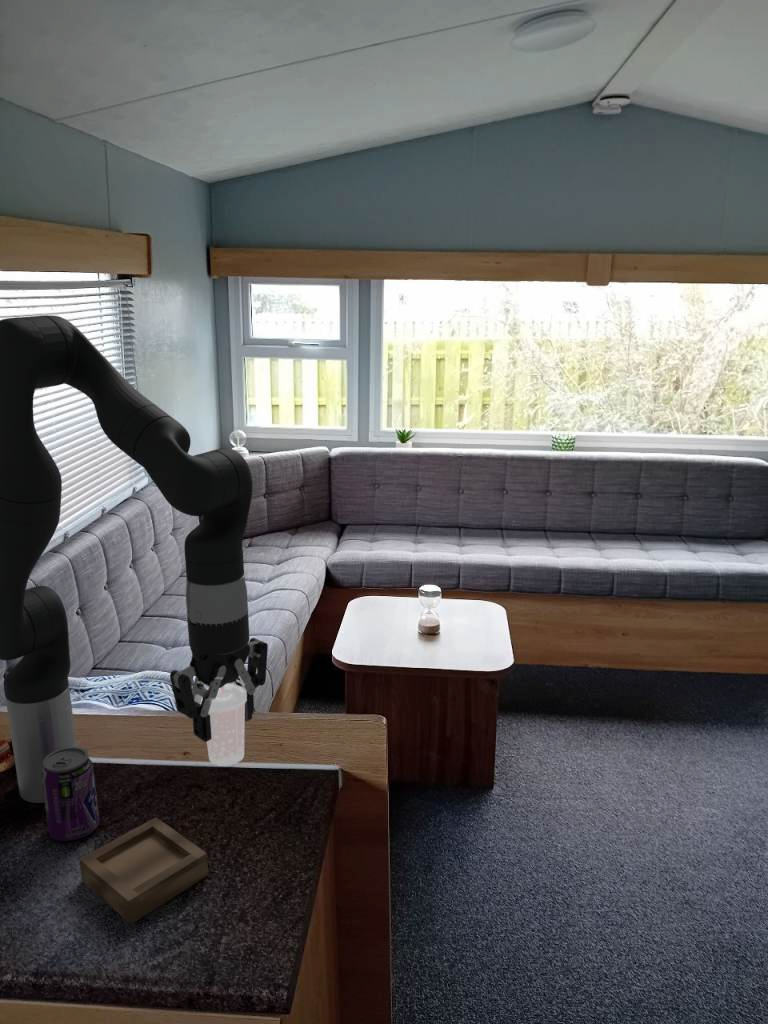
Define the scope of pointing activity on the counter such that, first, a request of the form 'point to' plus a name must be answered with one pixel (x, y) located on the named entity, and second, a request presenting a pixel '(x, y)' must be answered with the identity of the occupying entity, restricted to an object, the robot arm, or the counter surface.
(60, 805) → the beverage can
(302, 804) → the counter surface
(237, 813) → the counter surface
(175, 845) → the base plinth
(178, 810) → the counter surface
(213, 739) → the beverage cup
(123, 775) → the counter surface
